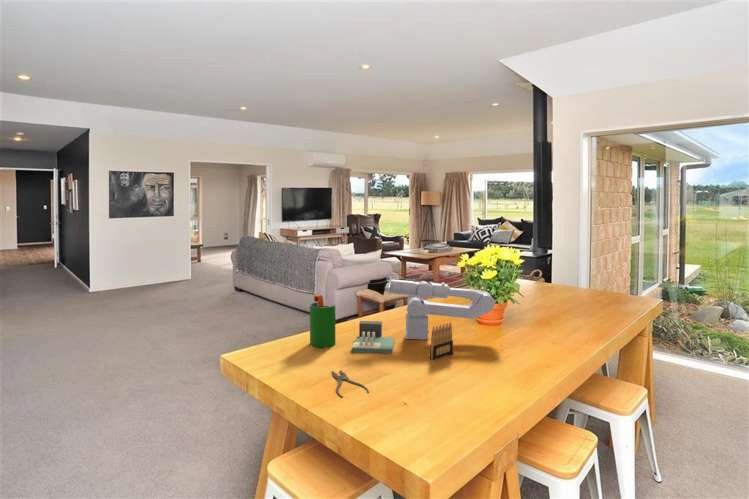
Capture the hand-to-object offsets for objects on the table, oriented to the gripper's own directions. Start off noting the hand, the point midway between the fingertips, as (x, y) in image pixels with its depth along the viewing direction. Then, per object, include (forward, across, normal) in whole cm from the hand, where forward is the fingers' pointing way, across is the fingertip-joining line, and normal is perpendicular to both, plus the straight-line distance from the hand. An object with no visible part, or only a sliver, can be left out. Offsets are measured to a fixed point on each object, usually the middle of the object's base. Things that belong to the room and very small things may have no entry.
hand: (368, 284), depth 189 cm
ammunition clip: (-31, +22, +20) cm, 43 cm away
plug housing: (-3, +2, +22) cm, 22 cm away
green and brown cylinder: (+15, +13, +23) cm, 30 cm away
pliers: (+1, +50, +22) cm, 55 cm away
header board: (-5, +14, +21) cm, 26 cm away
